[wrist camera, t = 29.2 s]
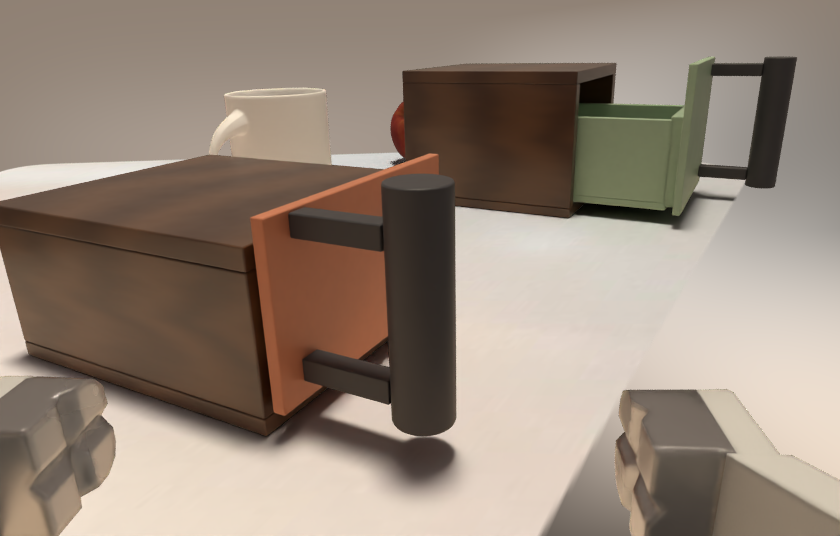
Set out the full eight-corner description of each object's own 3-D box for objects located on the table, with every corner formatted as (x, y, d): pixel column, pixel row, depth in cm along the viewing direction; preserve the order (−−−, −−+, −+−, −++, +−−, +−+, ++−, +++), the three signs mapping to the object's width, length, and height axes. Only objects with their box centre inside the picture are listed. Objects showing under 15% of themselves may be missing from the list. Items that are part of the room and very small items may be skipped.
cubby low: (429, 308, 37) (426, 172, 34) (266, 437, 25) (242, 247, 22) (225, 269, 44) (209, 154, 41) (27, 354, 32) (-13, 203, 30)
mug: (187, 226, 54) (166, 98, 51) (289, 197, 63) (278, 86, 60) (253, 242, 50) (236, 102, 46) (354, 208, 59) (346, 89, 55)
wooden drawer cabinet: (606, 184, 65) (616, 63, 61) (569, 218, 54) (577, 71, 50) (466, 172, 73) (466, 63, 68) (406, 200, 61) (402, 71, 57)
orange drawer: (551, 315, 33) (560, 132, 30) (430, 463, 22) (424, 196, 18) (236, 257, 43) (218, 116, 40) (43, 339, 32) (-6, 151, 28)
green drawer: (774, 186, 58) (796, 56, 54) (771, 225, 47) (800, 63, 43) (543, 169, 68) (548, 58, 64) (496, 197, 57) (498, 64, 53)
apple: (379, 161, 80) (376, 97, 78) (429, 154, 84) (428, 92, 82) (412, 170, 75) (410, 101, 72) (464, 162, 79) (464, 96, 76)
